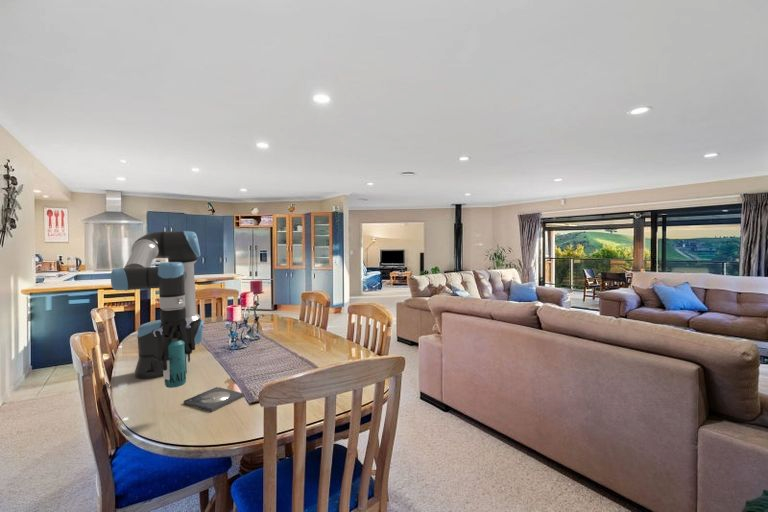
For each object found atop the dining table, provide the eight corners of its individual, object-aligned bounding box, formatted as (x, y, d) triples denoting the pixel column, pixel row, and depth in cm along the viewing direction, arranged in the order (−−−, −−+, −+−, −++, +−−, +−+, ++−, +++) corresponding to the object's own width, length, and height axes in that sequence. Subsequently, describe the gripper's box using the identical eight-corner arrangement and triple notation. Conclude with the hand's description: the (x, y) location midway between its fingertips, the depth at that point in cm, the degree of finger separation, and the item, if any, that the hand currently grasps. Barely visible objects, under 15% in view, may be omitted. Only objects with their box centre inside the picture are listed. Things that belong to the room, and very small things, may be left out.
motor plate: (183, 403, 136) (183, 400, 136) (216, 389, 148) (216, 386, 148) (211, 412, 129) (211, 408, 129) (244, 396, 141) (244, 393, 141)
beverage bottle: (170, 384, 129) (167, 328, 128) (190, 384, 130) (187, 327, 128) (160, 393, 123) (157, 333, 121) (181, 392, 123) (179, 332, 122)
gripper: (151, 314, 115) (155, 388, 116) (205, 304, 131) (208, 368, 133) (137, 312, 118) (141, 383, 120) (191, 302, 135) (194, 365, 136)
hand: (176, 375), depth 126 cm, fingers closed on beverage bottle, 6 cm apart
